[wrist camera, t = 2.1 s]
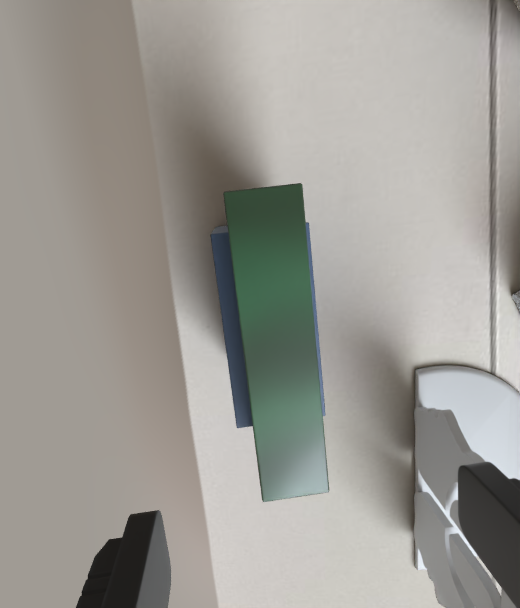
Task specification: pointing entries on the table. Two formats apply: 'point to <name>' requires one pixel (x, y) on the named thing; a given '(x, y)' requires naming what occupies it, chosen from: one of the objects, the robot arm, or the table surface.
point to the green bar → (278, 338)
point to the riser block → (233, 324)
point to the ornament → (444, 473)
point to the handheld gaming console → (517, 299)
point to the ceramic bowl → (517, 4)
